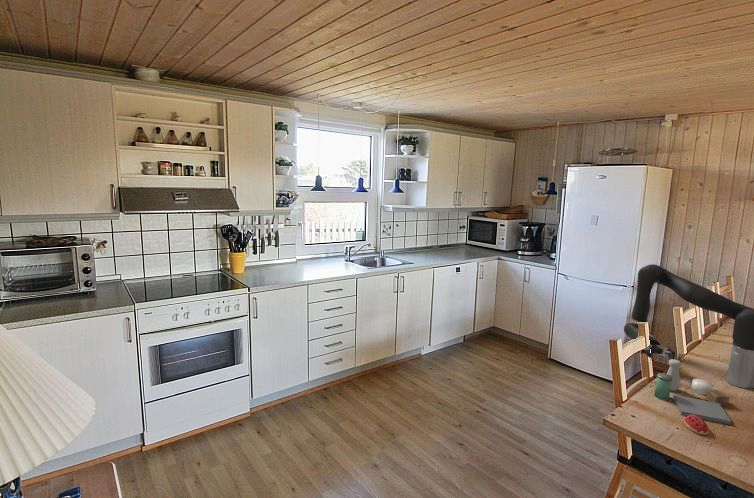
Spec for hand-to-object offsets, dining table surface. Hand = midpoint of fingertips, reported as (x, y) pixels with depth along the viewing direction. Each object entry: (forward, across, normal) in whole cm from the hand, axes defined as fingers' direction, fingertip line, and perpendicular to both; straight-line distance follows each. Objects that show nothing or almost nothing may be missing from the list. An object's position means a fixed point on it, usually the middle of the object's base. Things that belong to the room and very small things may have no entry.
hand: (661, 357), depth 185 cm
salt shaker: (+12, 0, +9) cm, 15 cm away
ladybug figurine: (+40, -3, +9) cm, 41 cm away
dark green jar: (+19, -6, +9) cm, 22 cm away
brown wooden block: (+18, +14, +9) cm, 25 cm away
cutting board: (+27, +4, +9) cm, 29 cm away
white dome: (+10, +12, +9) cm, 18 cm away
